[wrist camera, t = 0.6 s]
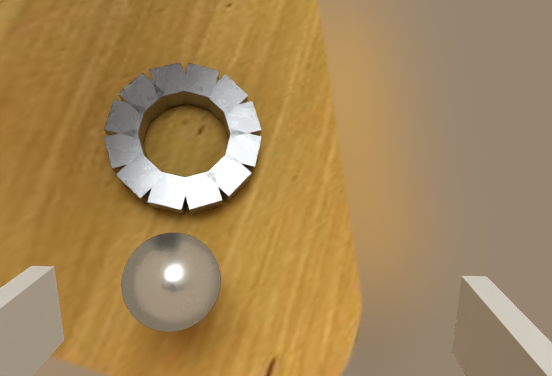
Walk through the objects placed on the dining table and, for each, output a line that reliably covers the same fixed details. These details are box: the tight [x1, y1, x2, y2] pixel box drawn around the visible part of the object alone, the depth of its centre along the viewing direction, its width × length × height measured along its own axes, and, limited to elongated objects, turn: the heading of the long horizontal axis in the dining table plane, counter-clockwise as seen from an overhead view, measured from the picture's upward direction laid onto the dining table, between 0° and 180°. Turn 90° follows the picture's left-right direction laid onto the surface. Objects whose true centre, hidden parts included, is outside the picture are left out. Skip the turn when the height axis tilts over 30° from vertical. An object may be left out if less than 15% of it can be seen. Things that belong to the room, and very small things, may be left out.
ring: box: [104, 63, 262, 214], centre depth 34 cm, size 12×12×2 cm
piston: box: [121, 233, 221, 332], centre depth 27 cm, size 5×5×12 cm
